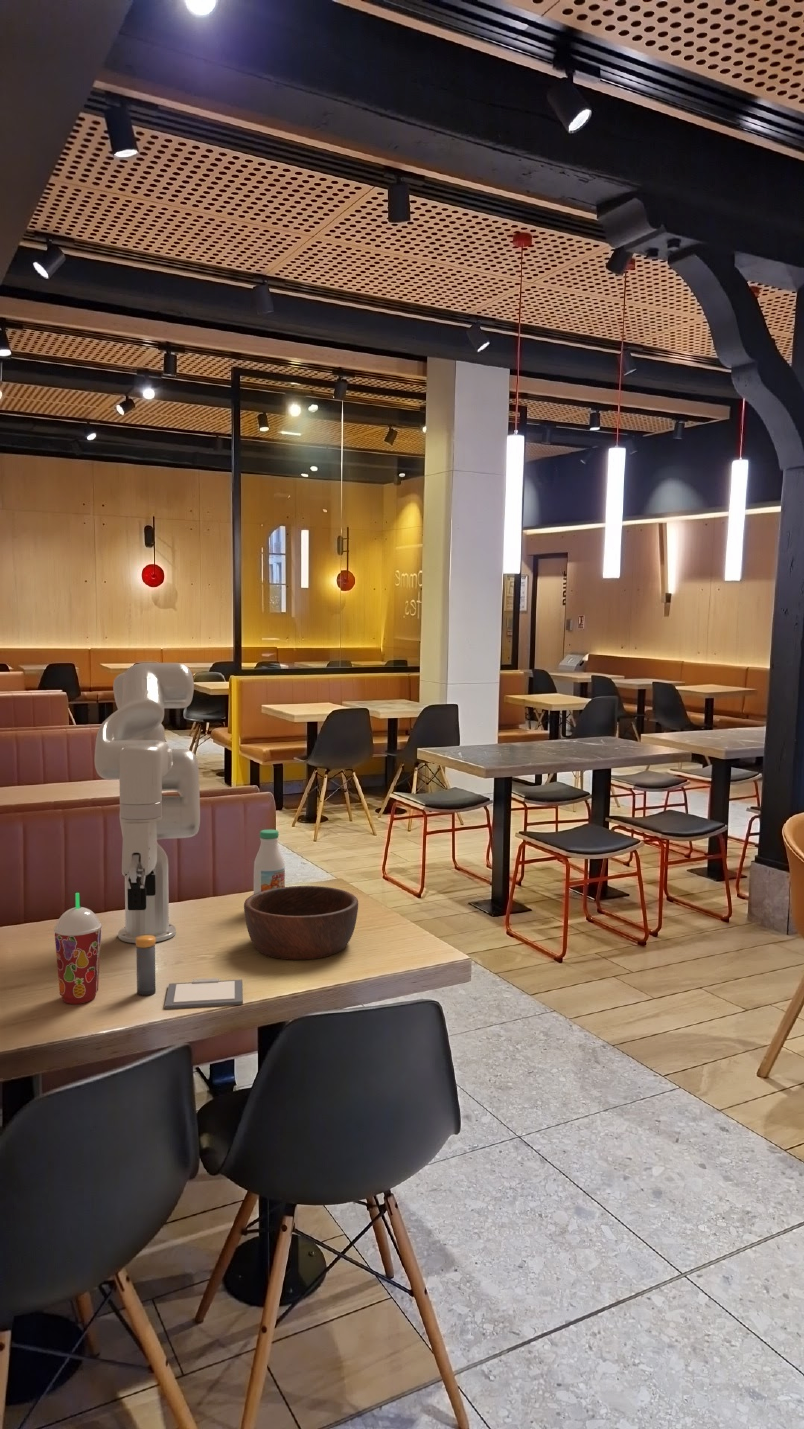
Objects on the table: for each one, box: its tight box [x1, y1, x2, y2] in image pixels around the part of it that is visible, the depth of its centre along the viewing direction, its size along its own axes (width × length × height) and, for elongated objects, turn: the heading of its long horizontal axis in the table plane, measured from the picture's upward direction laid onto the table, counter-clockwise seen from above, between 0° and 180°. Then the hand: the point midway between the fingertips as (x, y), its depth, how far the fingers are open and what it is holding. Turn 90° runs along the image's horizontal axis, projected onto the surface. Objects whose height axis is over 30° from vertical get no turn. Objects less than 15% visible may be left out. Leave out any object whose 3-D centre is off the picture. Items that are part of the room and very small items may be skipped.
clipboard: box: [164, 977, 244, 1010], centre depth 172 cm, size 11×14×1 cm
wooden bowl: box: [243, 885, 359, 961], centre depth 201 cm, size 25×25×10 cm
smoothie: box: [53, 892, 103, 1005], centre depth 170 cm, size 8×8×20 cm
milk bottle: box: [253, 829, 286, 894], centre depth 227 cm, size 8×8×20 cm
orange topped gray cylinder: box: [135, 935, 157, 997], centre depth 173 cm, size 4×4×11 cm
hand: (142, 902), depth 170 cm, fingers open, 9 cm apart
